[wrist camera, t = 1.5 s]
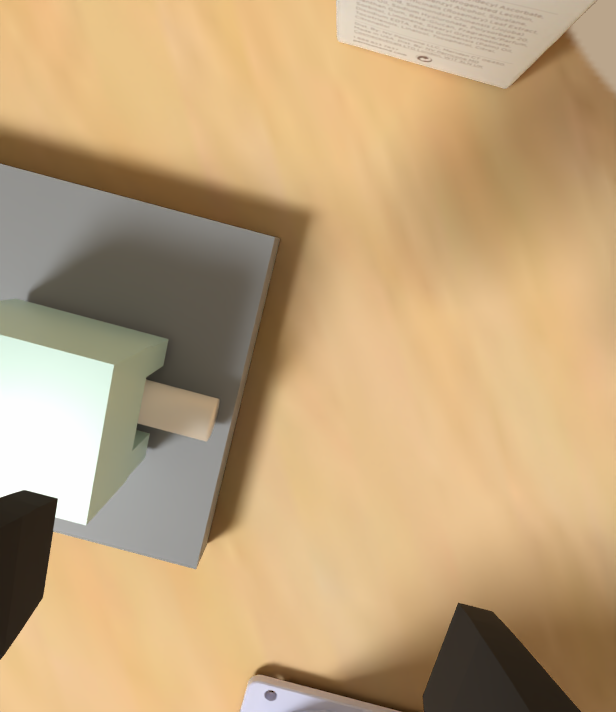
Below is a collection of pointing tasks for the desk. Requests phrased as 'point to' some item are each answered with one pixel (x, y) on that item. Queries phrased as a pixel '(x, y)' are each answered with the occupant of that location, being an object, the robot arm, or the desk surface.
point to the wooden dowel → (178, 410)
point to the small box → (460, 32)
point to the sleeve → (71, 405)
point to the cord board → (149, 315)
